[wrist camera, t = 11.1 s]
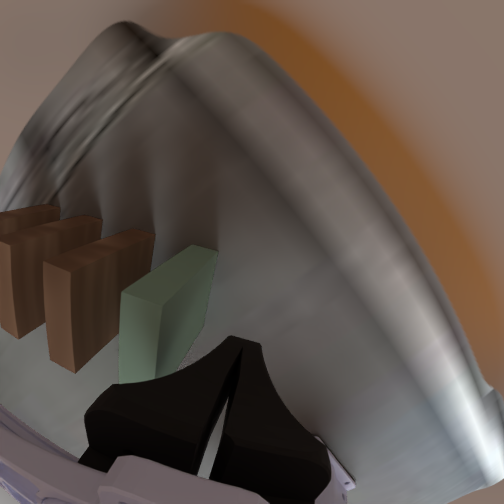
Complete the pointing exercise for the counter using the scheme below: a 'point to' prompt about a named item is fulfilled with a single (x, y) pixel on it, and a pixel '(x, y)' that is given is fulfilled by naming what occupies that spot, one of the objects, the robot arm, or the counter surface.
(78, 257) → the walnut domino
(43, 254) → the walnut domino
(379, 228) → the counter surface
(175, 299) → the green domino
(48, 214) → the walnut domino
